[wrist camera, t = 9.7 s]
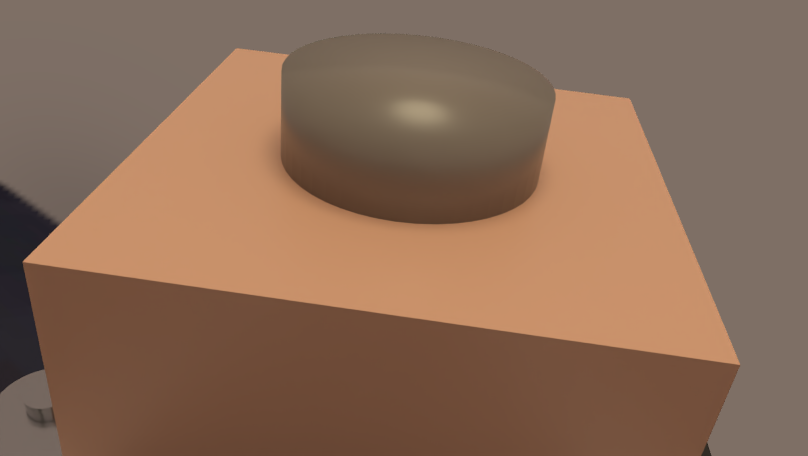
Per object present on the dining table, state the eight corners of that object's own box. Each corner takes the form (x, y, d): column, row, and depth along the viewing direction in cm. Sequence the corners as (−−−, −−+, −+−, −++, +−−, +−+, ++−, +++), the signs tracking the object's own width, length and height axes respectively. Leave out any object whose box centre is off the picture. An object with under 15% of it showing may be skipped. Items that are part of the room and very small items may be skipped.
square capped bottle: (133, 801, 11) (0, 155, 6) (246, 487, 17) (235, -19, 11) (522, 869, 11) (784, 261, 6) (515, 528, 16) (647, 32, 11)
